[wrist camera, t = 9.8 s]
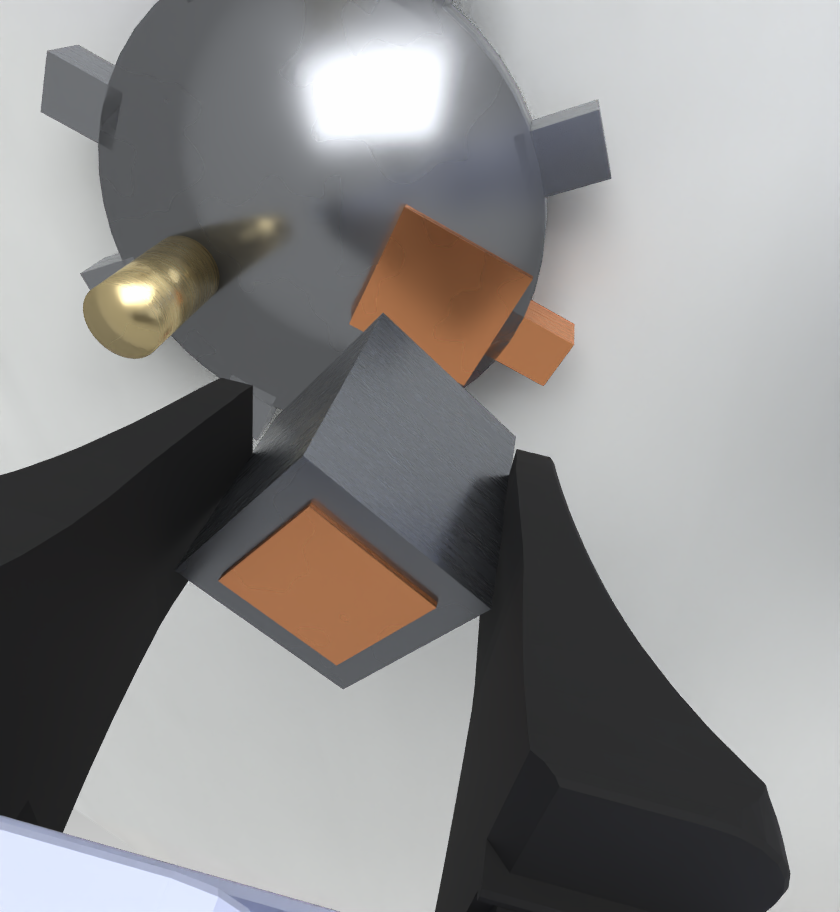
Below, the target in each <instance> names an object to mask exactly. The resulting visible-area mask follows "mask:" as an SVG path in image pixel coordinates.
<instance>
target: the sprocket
mask: <svg viewBox="0 0 840 912" xmlns="http://www.w3.org/2000/svg"><path fill="white" fill-rule="evenodd" d="M452 2H453V0H159V1H158V2H157V3H156V4H155V5H154V6H153V7H152V8H151V10H150V11H149V12H148V13H147V14H146V16H145V17H144V18H143V19H142V20H141V22H140V23H139V24H138V25H137V26H136V28H135V29H134V31H133V33H132V34H131V36H130V38H129V39H128V41H127V43H126V45H125V46H124V48H123V50H122V51H121V53H120V55H119V57H118V60H117V62H116V65H113V64H111V63H110V62H108V61H106V60H104V59H103V58H101V57H99V56H97V55H96V54H94V53H92V52H90V51H88V50H87V49H85V48H83V47H81V46H80V45H75V46H70V47H64V48H59V49H54V50H49V51H47V57H46V67H45V76H44V85H43V95H42V104H41V112H42V113H44V114H46V115H47V116H49V117H51V118H53V119H55V120H57V121H58V122H60V123H62V124H64V125H66V126H68V127H69V128H71V129H73V130H75V131H77V132H79V133H80V134H82V135H84V136H86V137H88V138H90V139H91V140H93V141H95V142H97V143H98V151H99V176H100V183H101V189H102V196H103V202H104V207H105V211H106V214H107V218H108V222H109V225H110V229H111V233H112V235H113V238H114V241H115V243H116V246H117V248H118V251H119V253H118V254H115V255H112V256H109V257H106V258H104V259H102V260H100V261H99V262H97V263H96V264H94V265H93V266H91V267H90V268H88V269H87V270H85V271H83V272H82V273H80V274H81V276H82V277H83V279H84V281H85V282H86V284H87V286H88V287H89V289H90V291H89V292H88V294H87V295H86V297H85V299H84V303H83V313H84V318H85V321H86V324H87V326H88V328H89V330H90V331H91V333H92V334H93V336H94V337H95V338H96V339H97V340H98V341H99V342H100V343H101V344H102V345H103V346H104V347H105V348H107V349H108V350H110V351H111V352H113V353H115V354H117V355H119V356H122V357H126V358H133V359H137V358H143V357H146V356H148V355H150V354H151V353H152V352H154V351H155V350H156V349H157V348H158V347H159V346H160V345H161V344H162V343H163V342H164V341H165V340H166V339H167V338H168V337H170V336H171V335H172V337H173V338H174V339H175V340H176V341H177V342H178V343H179V344H180V345H181V346H182V347H183V348H184V349H185V350H186V351H187V352H188V353H189V354H190V355H192V356H193V357H194V358H195V359H196V360H197V361H198V362H200V363H201V364H202V365H203V366H204V367H205V368H207V369H208V370H209V371H211V372H212V373H214V374H215V375H216V376H218V377H219V378H225V379H229V380H233V381H237V382H241V383H245V384H249V385H253V438H254V439H256V440H258V439H259V438H260V436H261V434H262V433H263V431H264V430H265V428H266V427H267V425H268V424H269V422H270V421H271V419H272V417H273V415H274V413H275V410H276V408H279V409H282V410H284V409H285V408H286V407H287V406H288V405H289V404H290V403H291V402H292V401H293V400H294V399H295V398H296V397H297V396H298V395H299V394H300V393H301V392H302V391H304V390H305V389H306V388H307V387H308V386H309V385H310V384H311V383H312V382H313V381H314V380H315V379H316V378H317V377H318V376H319V375H320V374H321V373H322V372H323V371H324V370H325V369H326V368H327V367H328V366H329V365H330V364H331V363H332V362H333V361H334V360H335V359H336V358H337V357H338V356H339V355H340V354H341V353H342V352H343V351H344V350H345V349H346V348H347V347H348V346H349V345H350V344H351V343H352V342H353V341H354V340H356V339H357V338H358V337H359V336H360V335H361V334H362V333H363V332H364V331H365V330H366V329H367V328H368V327H369V326H370V325H371V324H372V323H373V322H374V321H375V320H376V319H377V318H378V317H379V316H380V315H381V314H382V313H384V314H385V315H386V316H387V317H389V318H390V319H391V320H392V321H393V322H394V323H395V324H396V325H397V326H398V327H399V328H400V329H401V330H402V331H403V332H405V333H406V334H407V335H408V336H409V337H410V338H411V339H412V340H413V341H414V342H415V343H416V344H417V345H418V346H419V347H420V348H422V349H423V350H424V351H425V352H426V353H427V354H428V355H429V356H430V357H431V358H432V359H433V360H434V361H435V362H436V363H438V364H439V365H440V366H441V367H442V368H443V369H444V370H445V371H446V372H447V373H448V374H449V375H450V376H451V377H452V378H454V379H455V380H456V381H457V382H458V383H459V384H460V385H461V386H462V387H463V388H465V387H466V386H467V385H469V384H470V383H471V382H473V381H474V380H475V379H477V378H478V377H479V376H480V375H481V374H482V373H483V372H484V371H485V370H486V369H487V368H488V367H489V366H490V365H491V364H492V363H493V362H494V361H495V360H496V361H498V362H500V363H502V364H504V365H505V366H507V367H509V368H511V369H513V370H515V371H516V372H518V373H520V374H522V375H524V376H526V377H527V378H529V379H531V380H533V381H535V382H537V383H538V384H540V385H542V386H544V385H545V383H546V382H547V381H548V379H549V378H550V377H551V375H552V374H553V373H554V371H555V370H556V368H557V367H558V366H559V364H560V363H561V362H562V360H563V359H564V358H565V356H566V355H567V354H568V352H569V351H570V350H571V348H572V347H573V345H574V324H573V323H571V322H570V321H568V320H566V319H564V318H562V317H561V316H559V315H557V314H555V313H554V312H552V311H550V310H548V309H547V308H545V307H543V306H541V305H539V304H538V303H536V302H534V301H532V300H531V298H532V296H533V293H534V291H535V287H536V283H537V279H538V275H539V271H540V267H541V263H542V257H543V249H544V240H545V231H546V222H547V197H548V196H551V195H555V194H558V193H562V192H565V191H569V190H573V189H576V188H580V187H583V186H587V185H590V184H594V183H597V182H601V181H605V180H608V179H611V173H610V165H609V159H608V153H607V147H606V142H605V136H604V130H603V124H602V118H601V112H600V106H599V101H598V100H594V101H591V102H588V103H585V104H582V105H579V106H576V107H573V108H570V109H566V110H563V111H560V112H557V113H554V114H551V115H548V116H545V117H542V118H538V119H535V120H533V119H532V117H531V115H530V113H529V110H528V108H527V106H526V103H525V101H524V99H523V96H522V94H521V92H520V89H519V87H518V86H517V84H516V82H515V81H514V79H513V77H512V76H511V74H510V72H509V71H508V69H507V67H506V66H505V64H504V62H503V61H502V59H501V57H500V56H499V55H498V53H497V52H496V51H495V50H494V48H493V47H492V46H491V45H490V43H489V42H488V41H487V40H486V38H485V37H484V36H483V35H482V33H481V32H480V31H479V29H478V28H476V27H475V26H474V25H473V24H472V23H471V22H470V21H469V20H468V19H467V18H466V17H465V16H464V15H463V14H462V13H461V12H460V11H459V10H458V9H457V8H456V7H455V6H454V5H453V4H452Z"/></svg>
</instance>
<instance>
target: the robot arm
mask: <svg viewBox="0 0 840 912" xmlns="http://www.w3.org/2000/svg"><path fill="white" fill-rule="evenodd" d="M252 453H253V385H249V384H245V383H241V382H237V381H233V380H229V379H225V378H220V379H218V380H216V381H213V382H211V383H209V384H207V385H205V386H203V387H202V388H200V389H198V390H196V391H194V392H192V393H190V394H188V395H186V396H184V397H183V398H181V399H179V400H177V401H175V402H173V403H171V404H169V405H167V406H165V407H164V408H162V409H160V410H158V411H156V412H154V413H152V414H150V415H148V416H146V417H144V418H142V419H140V420H138V421H136V422H134V423H132V424H130V425H128V426H126V427H123V428H121V429H119V430H117V431H115V432H112V433H110V434H108V435H106V436H104V437H101V438H99V439H97V440H95V441H93V442H90V443H88V444H86V445H84V446H82V447H79V448H77V449H74V450H72V451H69V452H67V453H64V454H62V455H59V456H56V457H54V458H51V459H48V460H45V461H43V462H40V463H37V464H34V465H31V466H29V467H26V468H23V469H20V470H17V471H14V472H10V473H7V474H3V475H0V912H339V911H336V910H332V909H329V908H325V907H321V906H318V905H314V904H311V903H307V902H304V901H300V900H297V899H293V898H290V897H286V896H283V895H279V894H276V893H272V892H269V891H265V890H262V889H258V888H255V887H251V886H248V885H244V884H241V883H237V882H234V881H230V880H227V879H223V878H219V877H216V876H212V875H209V874H205V873H202V872H198V871H195V870H191V869H188V868H184V867H181V866H177V865H174V864H170V863H167V862H163V861H160V860H156V859H153V858H149V857H146V856H142V855H139V854H135V853H132V852H128V851H125V850H121V849H117V848H114V847H110V846H106V845H103V844H100V843H96V842H93V841H89V840H86V839H82V838H79V837H75V836H72V835H68V834H65V833H63V831H64V828H65V826H66V824H67V821H68V819H69V817H70V814H71V812H72V810H73V807H74V805H75V803H76V800H77V798H78V796H79V793H80V791H81V789H82V786H83V784H84V782H85V779H86V777H87V775H88V772H89V770H90V768H91V766H92V764H93V762H94V759H95V757H96V755H97V753H98V751H99V748H100V746H101V744H102V742H103V740H104V738H105V735H106V733H107V731H108V729H109V727H110V724H111V722H112V720H113V718H114V716H115V714H116V712H117V710H118V708H119V706H120V704H121V702H122V700H123V697H124V695H125V693H126V691H127V689H128V687H129V685H130V683H131V681H132V679H133V677H134V675H135V673H136V671H137V669H138V667H139V665H140V663H141V661H142V659H143V657H144V655H145V653H146V651H147V650H148V648H149V646H150V644H151V642H152V640H153V638H154V636H155V634H156V632H157V630H158V628H159V626H160V625H161V623H162V621H163V620H164V618H165V616H166V615H167V613H168V611H169V610H170V608H171V606H172V605H173V603H174V602H175V600H176V599H177V597H178V596H179V594H180V593H181V591H182V590H183V588H184V587H185V585H186V584H187V582H188V581H189V580H187V579H186V578H184V577H183V576H182V575H180V574H179V573H177V572H176V571H175V569H176V568H177V566H178V565H179V563H180V562H181V560H182V558H183V557H184V555H185V554H186V552H187V551H188V549H189V548H190V546H191V545H192V543H193V542H194V540H195V539H196V537H197V536H198V534H199V533H200V531H201V530H202V528H203V527H204V525H205V524H206V522H207V521H208V519H209V518H210V516H211V515H212V513H213V512H214V510H215V509H216V507H217V506H218V504H219V503H220V501H221V499H222V498H223V496H224V495H225V494H226V492H227V491H228V489H229V488H230V486H231V485H232V484H233V482H234V480H235V479H236V477H237V476H238V474H239V473H240V471H241V470H242V468H243V467H244V465H245V464H246V462H247V461H248V459H249V458H250V456H251V455H252ZM789 880H790V870H789V865H788V861H787V856H786V852H785V847H784V843H783V838H782V835H781V831H780V828H779V824H778V821H777V817H776V815H775V812H774V809H773V806H772V803H771V801H770V798H769V795H768V791H767V788H766V785H765V783H764V782H763V781H762V780H761V779H760V778H759V777H758V776H757V775H756V774H755V773H754V772H753V771H751V770H750V769H749V768H748V767H747V766H746V765H745V764H744V763H743V762H742V761H741V760H740V759H739V758H738V757H737V756H736V755H735V754H734V753H733V752H732V751H731V750H730V749H729V748H728V747H727V746H726V745H725V744H724V743H723V742H722V741H721V740H720V739H719V738H718V737H717V736H716V735H715V734H714V733H713V732H712V731H711V729H710V728H709V727H708V726H707V725H706V724H705V723H704V722H703V721H702V720H701V718H700V717H699V716H698V715H697V714H696V713H695V712H694V711H693V709H692V708H691V707H690V706H689V705H688V704H687V703H686V702H685V700H684V699H683V698H682V697H681V696H680V695H679V693H678V692H677V691H676V690H675V689H674V687H673V686H672V685H671V684H670V683H669V681H668V680H667V679H666V677H665V676H664V675H663V673H662V672H661V671H660V670H659V668H658V667H657V666H656V664H655V663H654V662H653V660H652V659H651V658H650V657H649V655H648V654H647V653H646V651H645V650H644V649H643V647H642V646H641V645H640V643H639V642H638V640H637V639H636V637H635V636H634V634H633V633H632V631H631V630H630V628H629V627H628V625H627V624H626V622H625V621H624V619H623V617H622V616H621V614H620V613H619V611H618V609H617V608H616V606H615V604H614V603H613V601H612V599H611V598H610V596H609V594H608V592H607V590H606V589H605V587H604V585H603V583H602V581H601V579H600V577H599V575H598V573H597V571H596V570H595V568H594V566H593V564H592V562H591V560H590V558H589V555H588V553H587V551H586V549H585V547H584V545H583V542H582V540H581V538H580V535H579V533H578V531H577V528H576V526H575V524H574V521H573V519H572V516H571V514H570V511H569V508H568V506H567V503H566V500H565V497H564V495H563V492H562V489H561V486H560V482H559V479H558V476H557V472H556V469H555V465H554V463H553V461H552V459H551V458H550V457H547V456H543V455H539V454H535V453H530V452H526V451H522V450H518V449H517V450H516V453H515V457H514V460H513V463H512V466H511V470H510V473H509V477H508V484H507V491H506V498H505V505H504V517H503V529H502V536H501V543H500V550H499V557H498V564H497V571H496V578H495V585H494V591H493V598H492V605H491V609H490V610H489V611H487V612H485V613H483V614H481V615H480V620H479V634H478V648H477V663H476V677H475V688H474V697H473V706H472V712H471V718H470V724H469V730H468V736H467V741H466V747H465V753H464V759H463V764H462V770H461V776H460V781H459V787H458V792H457V798H456V803H455V809H454V815H453V820H452V825H451V831H450V836H449V841H448V847H447V852H446V857H445V863H444V868H443V874H442V879H441V884H440V889H439V894H438V899H437V904H436V910H435V912H766V911H767V910H769V909H770V908H771V907H772V906H774V904H775V903H776V902H777V901H778V900H779V899H780V898H781V896H782V895H783V894H784V893H785V892H786V890H787V889H788V887H789Z"/></svg>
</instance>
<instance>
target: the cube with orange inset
mask: <svg viewBox="0 0 840 912" xmlns="http://www.w3.org/2000/svg"><path fill="white" fill-rule="evenodd" d="M515 439H516V437H515V436H514V435H513V434H512V433H511V432H510V431H509V430H508V429H507V428H506V427H505V426H504V425H503V424H501V423H500V422H499V421H498V420H497V419H496V418H495V417H494V416H493V415H492V414H491V413H490V412H489V411H488V410H487V409H486V408H484V407H483V406H482V405H481V404H480V403H479V402H478V401H477V400H476V399H475V398H474V397H473V396H472V395H471V394H470V393H468V392H467V391H466V390H465V389H464V388H463V387H462V386H461V385H460V384H459V383H458V382H457V381H456V380H455V379H454V378H452V377H451V376H450V375H449V374H448V373H447V372H446V371H445V370H444V369H443V368H442V367H441V366H440V365H439V364H438V363H436V362H435V361H434V360H433V359H432V358H431V357H430V356H429V355H428V354H427V353H426V352H425V351H424V350H423V349H422V348H420V347H419V346H418V345H417V344H416V343H415V342H414V341H413V340H412V339H411V338H410V337H409V336H408V335H407V334H406V333H405V332H403V331H402V330H401V329H400V328H399V327H398V326H397V325H396V324H395V323H394V322H393V321H392V320H391V319H390V318H389V317H387V316H386V315H385V314H384V313H382V314H381V315H380V316H379V317H378V318H377V319H376V320H375V321H374V322H373V323H372V324H371V325H370V326H369V327H368V328H367V329H366V330H365V331H364V332H363V333H362V334H361V335H360V336H359V337H358V338H357V339H356V340H354V341H353V342H352V343H351V344H350V345H349V346H348V347H347V348H346V349H345V350H344V351H343V352H342V353H341V354H340V355H339V356H338V357H337V358H336V359H335V360H334V361H333V362H332V363H331V364H330V365H329V366H328V367H327V368H326V369H325V370H324V371H323V372H322V373H321V374H320V375H319V376H318V377H317V378H316V379H315V380H314V381H313V382H312V383H311V384H310V385H309V386H308V387H307V388H306V389H305V390H304V391H302V392H301V393H300V394H299V395H298V396H297V397H296V398H295V399H294V400H293V401H292V402H291V403H290V404H289V405H288V406H287V407H286V408H285V409H284V410H283V411H282V412H281V413H280V414H279V415H278V416H277V417H276V418H275V419H274V421H273V422H272V424H271V425H270V427H269V428H268V430H267V431H266V433H265V434H264V436H263V437H262V439H261V441H260V442H259V444H258V445H257V447H256V448H255V450H254V451H253V453H252V455H251V456H250V458H249V459H248V461H247V462H246V464H245V465H244V467H243V468H242V470H241V471H240V473H239V474H238V476H237V477H236V479H235V480H234V482H233V484H232V485H231V486H230V488H229V489H228V491H227V492H226V494H225V495H224V496H223V498H222V499H221V501H220V503H219V504H218V506H217V507H216V509H215V510H214V512H213V513H212V515H211V516H210V518H209V519H208V521H207V522H206V524H205V525H204V527H203V528H202V530H201V531H200V533H199V534H198V536H197V537H196V539H195V540H194V542H193V543H192V545H191V546H190V548H189V549H188V551H187V552H186V554H185V555H184V557H183V558H182V560H181V562H180V563H179V565H178V566H177V568H176V569H175V571H176V572H177V573H179V574H180V575H182V576H183V577H184V578H186V579H187V580H189V581H190V582H192V583H193V584H194V585H196V586H197V587H199V588H200V589H202V590H203V591H204V592H206V593H207V594H209V595H210V596H211V597H213V598H214V599H216V600H217V601H219V602H220V603H221V604H223V605H224V606H226V607H227V608H229V609H230V610H231V611H233V612H234V613H236V614H237V615H238V616H240V617H241V618H243V619H244V620H246V621H247V622H248V623H250V624H251V625H253V626H254V627H255V628H257V629H258V630H260V631H261V632H263V633H264V634H265V635H267V636H268V637H270V638H271V639H273V640H274V641H275V642H277V643H278V644H280V645H281V646H282V647H284V648H285V649H287V650H288V651H290V652H291V653H292V654H294V655H295V656H297V657H298V658H300V659H301V660H302V661H304V662H305V663H307V664H308V665H309V666H311V667H312V668H314V669H315V670H317V671H318V672H319V673H321V674H322V675H324V676H325V677H326V678H328V679H329V680H331V681H332V682H334V683H335V684H336V685H338V686H339V687H341V688H342V689H345V688H346V687H348V686H350V685H352V684H354V683H356V682H357V681H359V680H361V679H363V678H365V677H367V676H369V675H370V674H372V673H374V672H376V671H378V670H380V669H381V668H383V667H385V666H387V665H389V664H391V663H393V662H394V661H396V660H398V659H400V658H402V657H404V656H405V655H407V654H409V653H411V652H413V651H415V650H417V649H418V648H420V647H422V646H424V645H426V644H428V643H429V642H431V641H433V640H435V639H437V638H439V637H441V636H442V635H444V634H446V633H448V632H450V631H452V630H453V629H455V628H457V627H459V626H461V625H463V624H465V623H466V622H468V621H470V620H472V619H474V618H476V617H477V616H479V615H481V614H483V613H485V612H487V611H489V610H490V609H491V605H492V598H493V591H494V585H495V578H496V571H497V564H498V557H499V550H500V543H501V536H502V529H503V517H504V505H505V498H506V491H507V484H508V477H509V473H510V470H511V466H512V460H513V453H514V446H515Z"/></svg>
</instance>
